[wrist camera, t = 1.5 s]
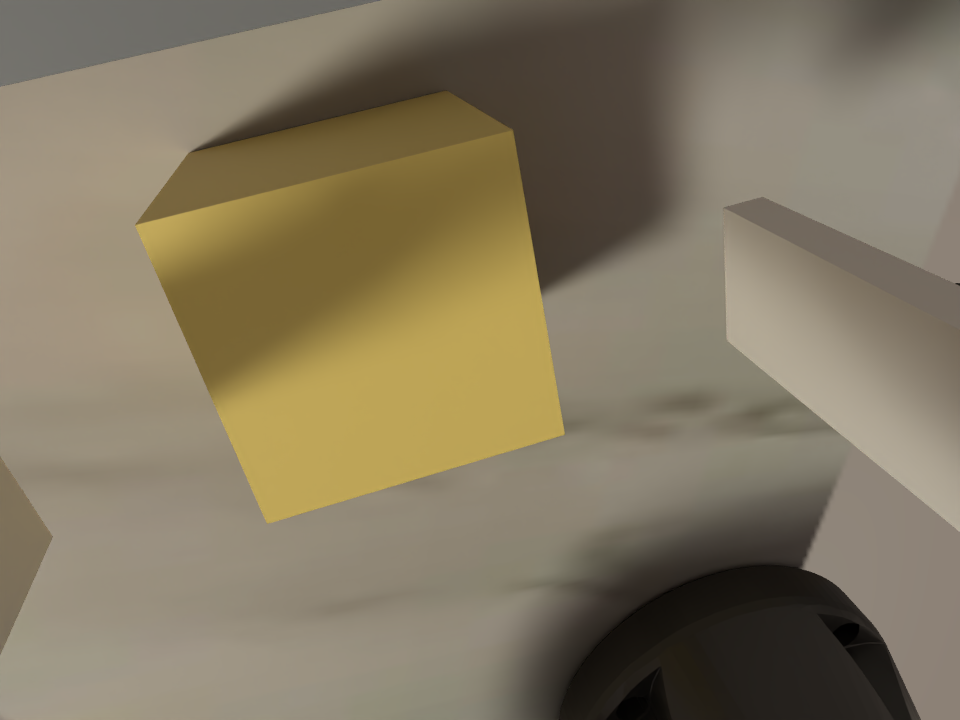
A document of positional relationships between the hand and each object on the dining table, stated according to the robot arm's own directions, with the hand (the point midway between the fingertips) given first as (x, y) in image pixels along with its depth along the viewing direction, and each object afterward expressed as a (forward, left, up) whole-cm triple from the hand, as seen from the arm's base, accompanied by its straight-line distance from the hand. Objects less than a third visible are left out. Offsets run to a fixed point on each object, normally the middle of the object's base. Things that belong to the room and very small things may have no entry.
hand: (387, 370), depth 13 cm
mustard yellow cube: (0, 0, -9) cm, 9 cm away
